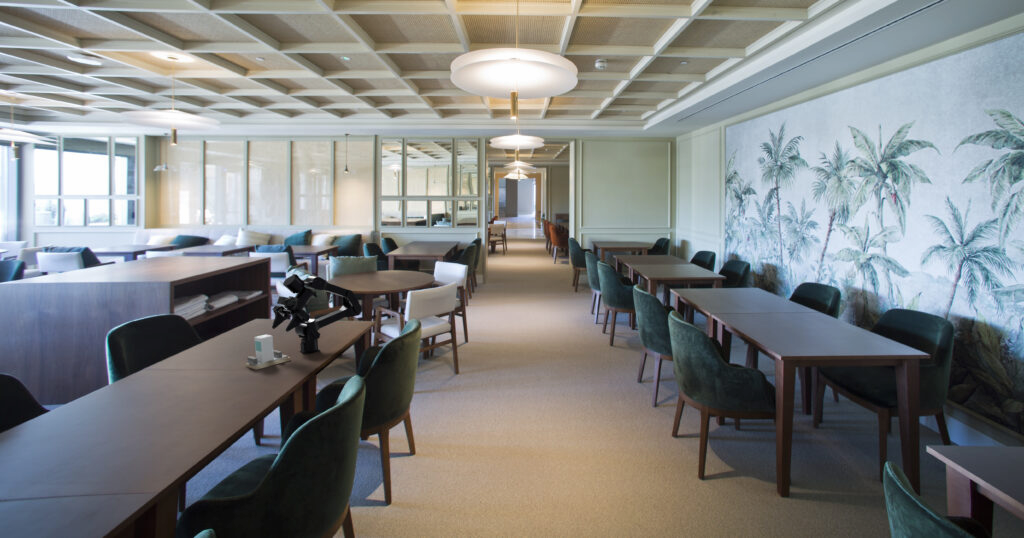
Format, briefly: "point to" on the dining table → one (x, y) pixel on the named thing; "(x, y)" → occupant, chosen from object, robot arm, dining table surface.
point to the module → (264, 348)
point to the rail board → (278, 359)
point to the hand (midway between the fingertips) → (279, 329)
